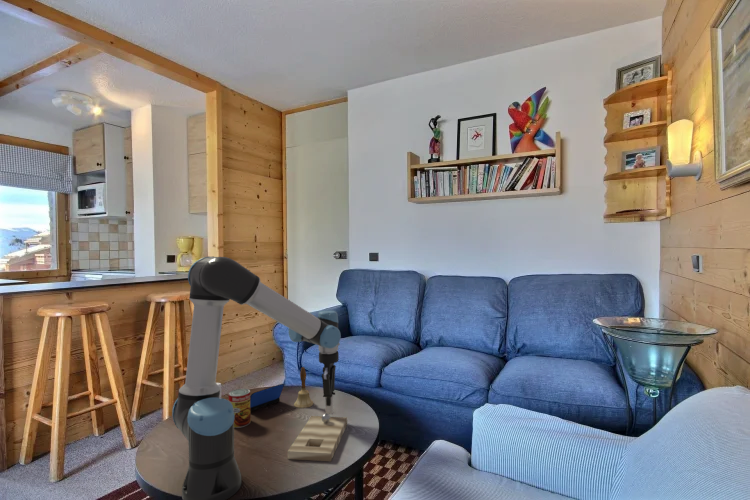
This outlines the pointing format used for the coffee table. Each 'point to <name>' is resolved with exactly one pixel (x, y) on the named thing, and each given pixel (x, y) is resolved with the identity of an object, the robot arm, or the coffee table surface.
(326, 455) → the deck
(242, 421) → the canned food
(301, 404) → the hand bell
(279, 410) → the coffee table surface
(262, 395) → the handheld game console
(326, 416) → the ball
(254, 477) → the coffee table surface
